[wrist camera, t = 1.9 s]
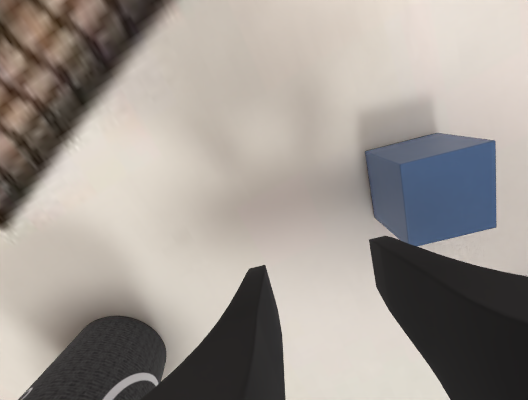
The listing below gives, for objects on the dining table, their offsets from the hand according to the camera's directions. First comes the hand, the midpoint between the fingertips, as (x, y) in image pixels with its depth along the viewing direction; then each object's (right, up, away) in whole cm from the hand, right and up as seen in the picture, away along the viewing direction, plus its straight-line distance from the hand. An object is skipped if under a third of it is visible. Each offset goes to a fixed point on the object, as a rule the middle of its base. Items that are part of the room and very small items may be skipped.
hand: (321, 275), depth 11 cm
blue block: (+7, +4, +8) cm, 11 cm away
